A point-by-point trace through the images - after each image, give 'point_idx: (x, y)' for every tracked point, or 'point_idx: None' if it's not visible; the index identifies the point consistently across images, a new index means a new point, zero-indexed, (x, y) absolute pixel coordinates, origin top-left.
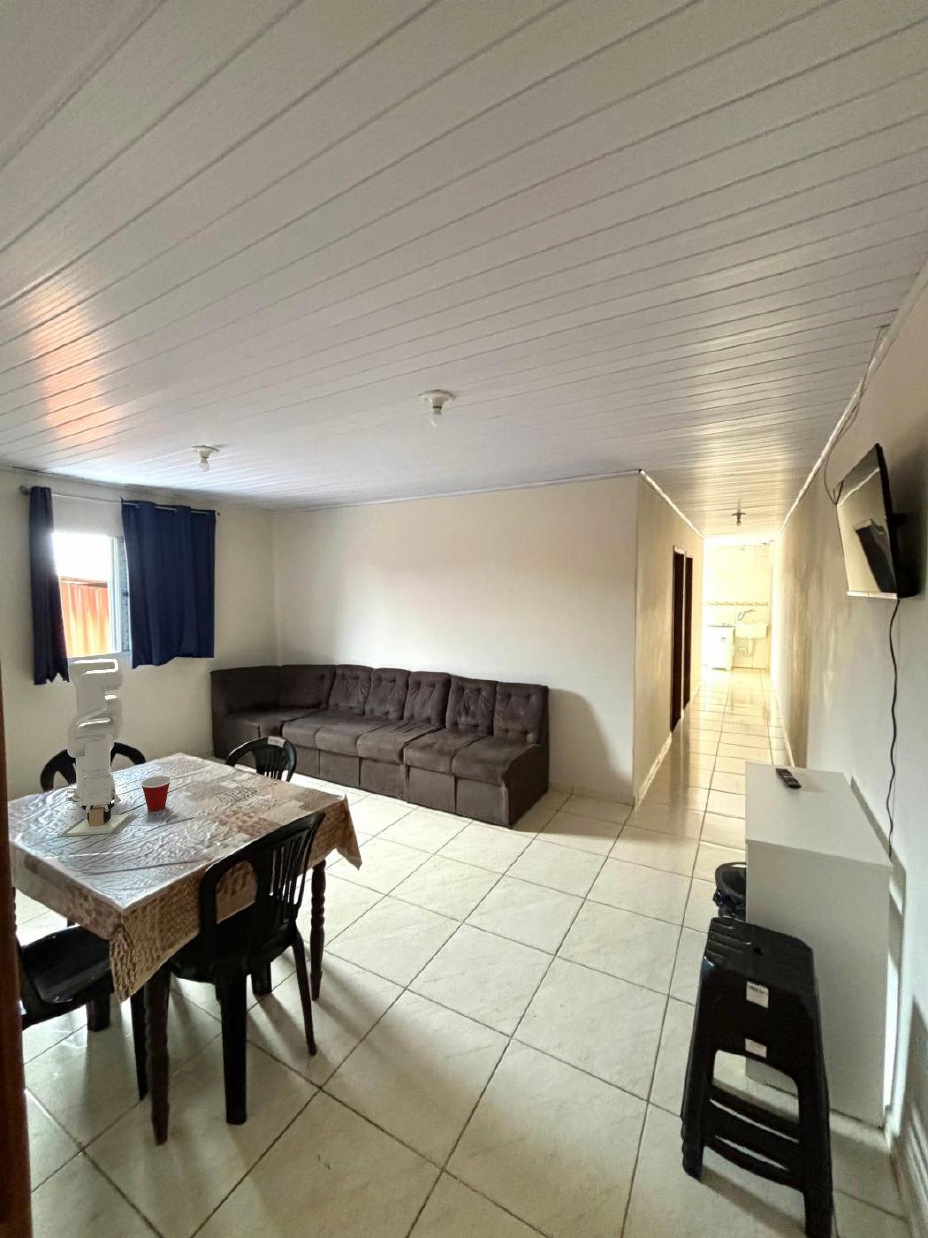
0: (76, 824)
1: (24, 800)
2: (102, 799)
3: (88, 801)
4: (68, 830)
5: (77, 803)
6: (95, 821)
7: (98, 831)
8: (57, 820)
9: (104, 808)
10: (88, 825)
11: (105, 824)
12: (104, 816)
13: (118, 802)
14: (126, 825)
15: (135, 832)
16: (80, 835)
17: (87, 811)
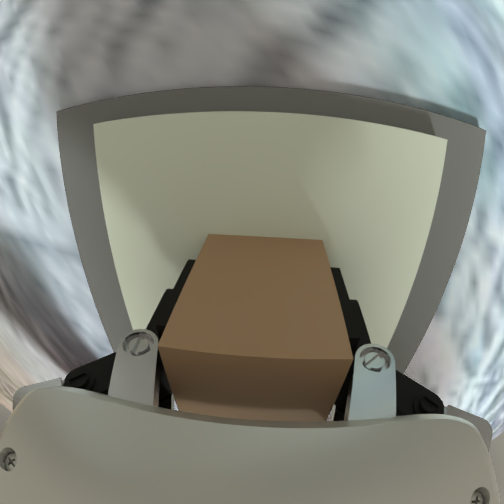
0: (420, 319)
1: (501, 432)
2: (67, 480)
3: (375, 496)
4: (449, 239)
5: (486, 433)
6: (268, 259)
7: (181, 113)
8: (479, 366)
9: (169, 374)
10: (336, 261)
11: (197, 251)
12: (180, 292)
13: (25, 388)
14: (80, 240)
15: (10, 151)
16: (336, 106)
17: (371, 358)
